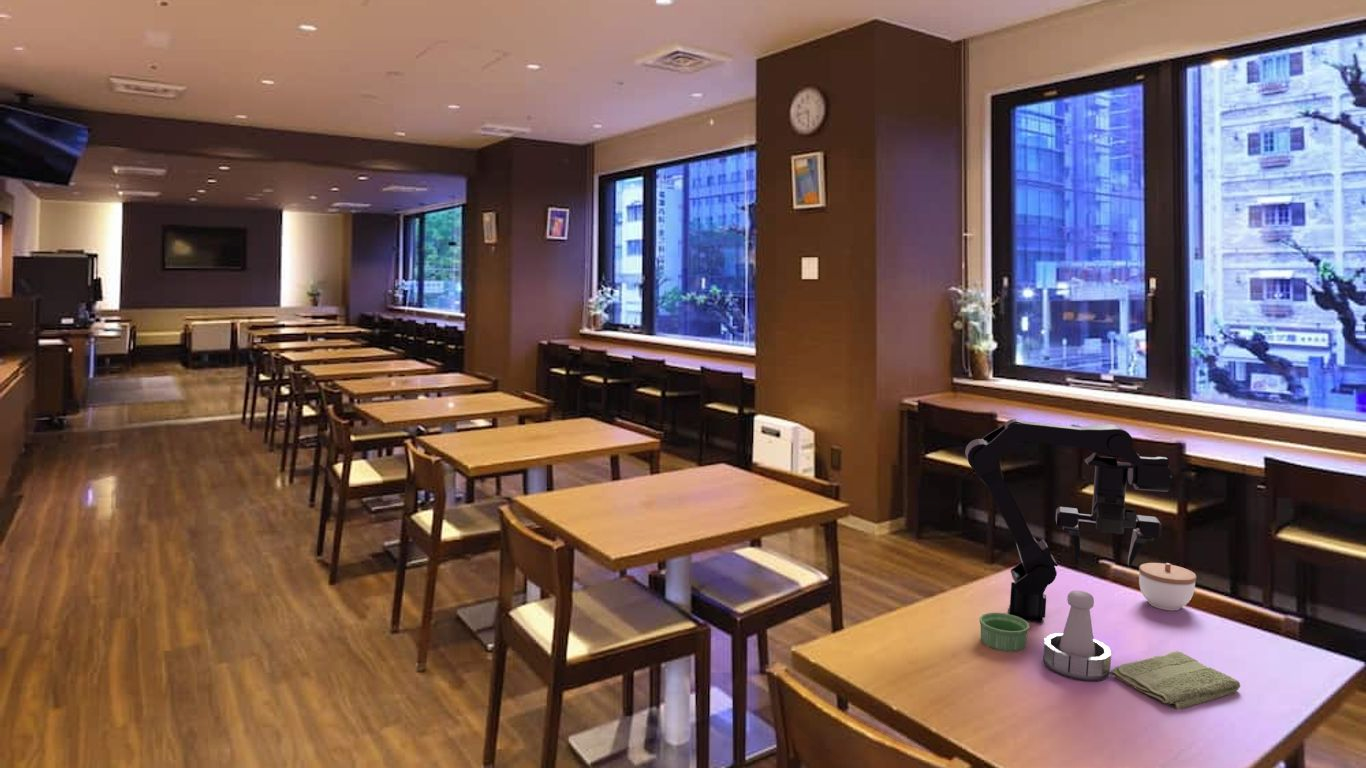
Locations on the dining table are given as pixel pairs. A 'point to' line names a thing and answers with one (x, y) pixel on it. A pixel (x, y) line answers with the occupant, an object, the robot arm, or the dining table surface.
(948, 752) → the dining table surface
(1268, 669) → the dining table surface
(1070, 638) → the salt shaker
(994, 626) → the ramekin
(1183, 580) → the lidded jar
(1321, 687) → the dining table surface
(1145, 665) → the washcloth
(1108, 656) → the faceted metal bowl
